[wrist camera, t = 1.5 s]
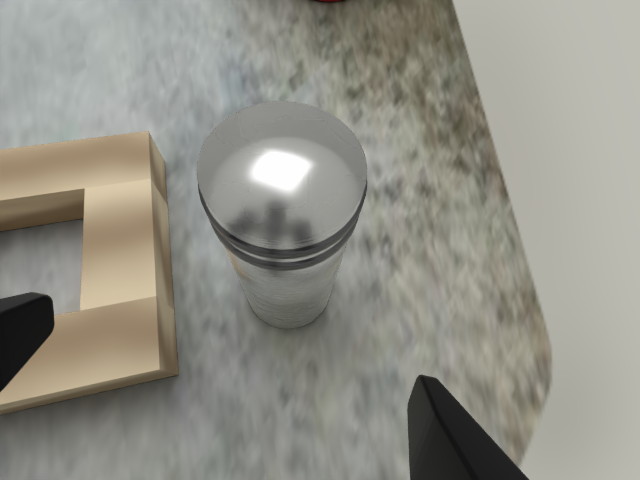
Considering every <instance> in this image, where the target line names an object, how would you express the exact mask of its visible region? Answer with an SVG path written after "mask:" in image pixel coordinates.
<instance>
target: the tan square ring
mask: <svg viewBox="0 0 640 480" xmlns="http://www.w3.org/2000/svg"><path fill="white" fill-rule="evenodd" d="M83 218H84V222H83V247H82V272H81V298H80V311H75V312H70V313H65V314H60V315H54V321H55V326H54V329H53V332H52V333H51V335H50V336H49V337H48V338H47V340H46V341H45V342H44V343H43V344H42V345H41V347H40V348H39V349H38V350H37V351H36V352H35V354H34V355H33V356H32V357H31V358H30V359H29V361H28V362H27V363H26V364H25V365H24V366H23V368H22V369H21V370H20V371H19V372H18V373H17V375H16V376H15V377H14V378H13V379H12V380H11V381H10V383H9V384H8V385H7V386H6V387H5V388H4V389H3V390H2V391H1V392H0V415H1V414H6V413H10V412H15V411H19V410H24V409H28V408H32V407H37V406H41V405H46V404H50V403H55V402H59V401H64V400H68V399H72V398H77V397H81V396H86V395H90V394H95V393H99V392H103V391H108V390H112V389H117V388H121V387H126V386H130V385H135V384H139V383H143V382H148V381H152V380H157V379H161V378H166V377H170V376H175V375H179V371H178V356H177V341H176V326H175V311H174V296H173V281H172V266H171V251H170V236H169V221H168V206H167V191H166V176H165V161H164V159H163V158H162V156H161V154H160V152H159V150H158V148H157V146H156V144H155V142H154V141H153V139H152V137H151V135H150V133H149V131H145V132H137V133H129V134H121V135H113V136H105V137H97V138H89V139H81V140H73V141H65V142H58V143H50V144H42V145H34V146H26V147H18V148H10V149H2V150H0V231H6V230H12V229H19V228H25V227H31V226H38V225H44V224H51V223H57V222H63V221H70V220H76V219H83Z"/></svg>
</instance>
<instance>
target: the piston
mask: <svg viewBox="0 0 640 480" xmlns="http://www.w3.org/2000/svg"><path fill="white" fill-rule="evenodd" d="M197 179H198V189H199V195H200V199H201V202H202V205H203V207H204V209H205V211H206V214H207V216H208V218H209V220H210V222H211V225H212V227H213V229H214V231H215V233H216V235H217V236H218V238H219V240H220V241H221V242H222V243H223V245H224V246H225V248H226V251H227V253H228V255H229V258H230V260H231V262H232V265H233V267H234V269H235V271H236V274H237V276H238V278H239V281H240V283H241V285H242V287H243V290H244V292H245V294H246V297H247V299H248V301H249V303H250V306H251V308H252V309H253V311H254V312H255V313H256V315H257V316H258V317H259V318H260V319H261V320H263V321H264V322H266V323H268V324H270V325H272V326H275V327H278V328H285V329H291V328H298V327H301V326H304V325H307V324H309V323H310V322H312V321H313V320H315V319H316V318H317V317H318V316H319V315H320V314H321V313H322V312H323V310H324V309H325V307H326V305H327V303H328V301H329V297H330V294H331V291H332V288H333V285H334V282H335V279H336V276H337V273H338V269H339V266H340V263H341V260H342V257H343V254H344V251H345V248H346V245H347V242H348V239H349V238H350V236H351V235H352V233H353V231H354V229H355V226H356V223H357V220H358V217H359V214H360V212H361V209H362V206H363V203H364V199H365V196H366V190H367V163H366V158H365V154H364V151H363V149H362V147H361V145H360V143H359V141H358V139H357V138H356V136H355V135H354V133H353V132H352V131H351V130H350V129H349V128H348V127H347V126H346V125H345V124H344V123H343V122H342V121H340V120H339V119H338V118H336V117H335V116H333V115H331V114H330V113H328V112H326V111H324V110H322V109H319V108H317V107H314V106H310V105H307V104H303V103H297V102H287V101H275V102H266V103H261V104H256V105H253V106H250V107H247V108H244V109H242V110H240V111H238V112H236V113H234V114H232V115H231V116H229V117H227V118H226V119H225V120H223V121H222V122H221V123H220V124H219V125H218V126H217V127H216V128H215V129H214V130H213V131H212V132H211V133H210V135H209V136H208V137H207V139H206V141H205V142H204V144H203V146H202V149H201V151H200V154H199V158H198V162H197Z"/></svg>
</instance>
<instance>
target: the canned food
mask: <svg viewBox="0 0 640 480" xmlns="http://www.w3.org/2000/svg"><path fill="white" fill-rule="evenodd" d="M318 1H326V2H334V1H341V0H318Z"/></svg>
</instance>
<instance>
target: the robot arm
mask: <svg viewBox="0 0 640 480" xmlns="http://www.w3.org/2000/svg"><path fill="white" fill-rule="evenodd" d="M54 326H55V321H54V310H53V301H52V298H51V297H50V296H48V295H44V294H40V293H35V292H30V293H25V294H21V295H16V296H12V297H7V298H3V299H0V392H1V391H2V390H3V389H4V388H5V387H6V386H7V385H8V384H9V383H10V381H11V380H12V379H13V378H14V377H15V376H16V375H17V373H18V372H19V371H20V370H21V369H22V368H23V366H24V365H25V364H26V363H27V362H28V361H29V359H30V358H31V357H32V356H33V355H34V354H35V352H36V351H37V350H38V349H39V348H40V347H41V345H42V344H43V343H44V342H45V341H46V340H47V338H48V337H49V336H50V335H51V333H52V332H53V329H54ZM407 413H408V439H409V465H410V480H529V479H528V478H527V477H526V476H525V475H524V474H523V472H522V471H521V470H520V469H519V468H518V467H517V466H516V465H515V464H514V463H513V461H512V460H511V459H510V458H509V457H508V456H507V455H506V454H505V453H504V452H503V450H502V449H501V448H500V447H499V446H498V445H497V444H496V443H495V442H494V441H493V439H492V438H491V437H490V436H489V435H488V434H487V433H486V432H485V431H484V430H483V429H482V427H481V426H480V425H479V424H478V423H477V422H476V421H475V420H474V419H473V418H472V416H471V415H470V414H469V413H468V412H467V411H466V410H465V409H464V408H463V407H462V405H461V404H460V403H459V402H458V401H457V400H456V399H455V398H454V397H453V396H452V394H451V393H450V392H449V391H448V390H447V389H446V388H445V387H444V386H443V385H442V384H441V382H440V381H439V380H438V379H436V378H434V377H430V376H425V375H419V376H418V377H417V379H416V381H415V384H414V387H413V390H412V393H411V396H410V399H409V402H408V409H407Z"/></svg>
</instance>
